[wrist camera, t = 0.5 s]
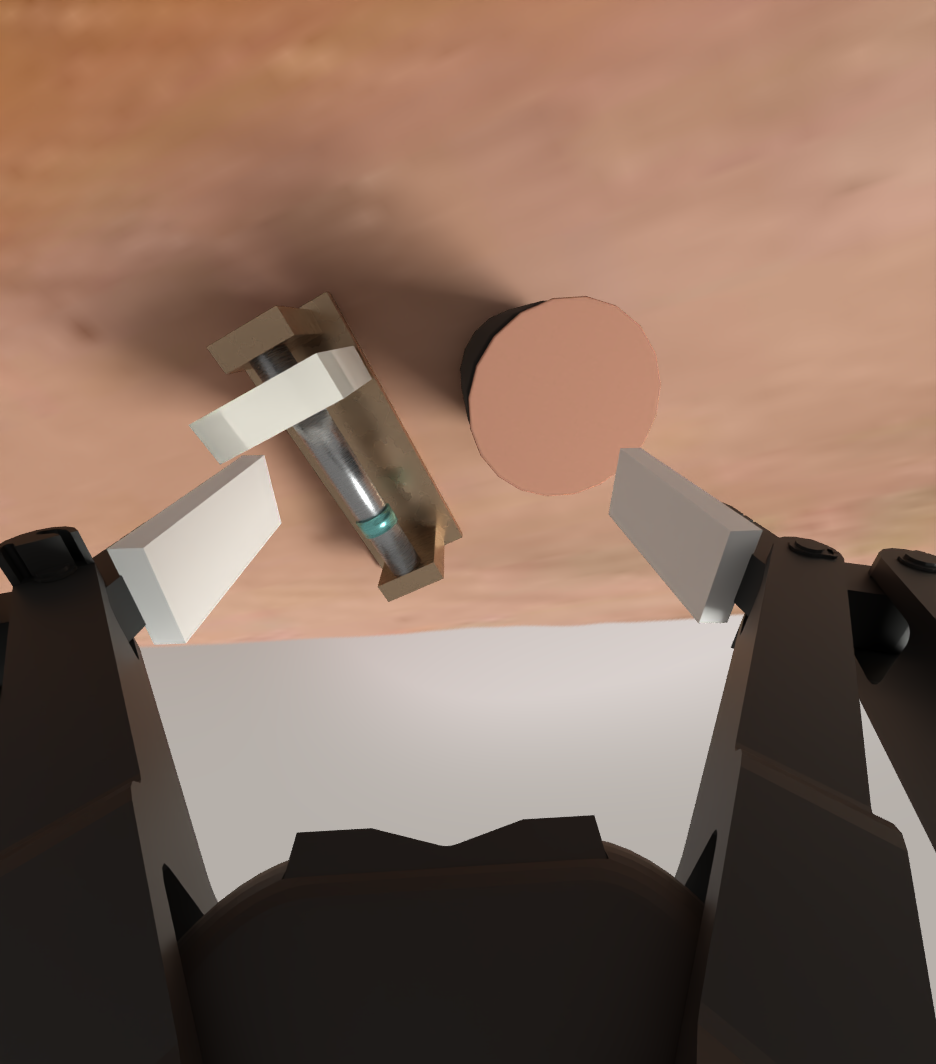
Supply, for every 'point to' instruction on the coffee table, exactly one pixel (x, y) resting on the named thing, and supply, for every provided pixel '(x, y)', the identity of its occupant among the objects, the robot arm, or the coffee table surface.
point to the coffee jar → (559, 392)
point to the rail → (353, 445)
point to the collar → (281, 402)
